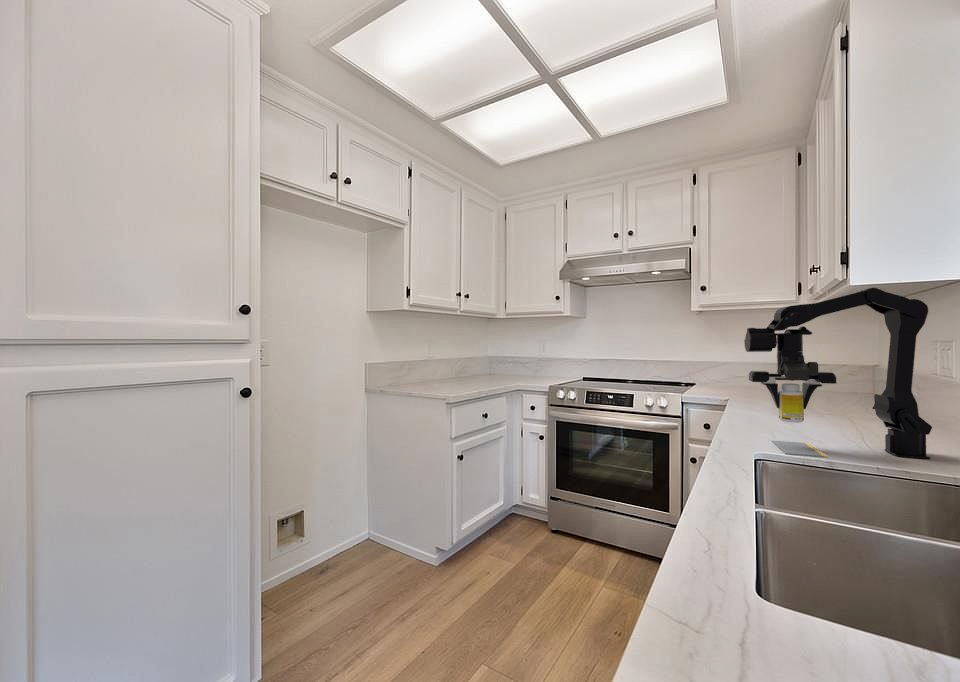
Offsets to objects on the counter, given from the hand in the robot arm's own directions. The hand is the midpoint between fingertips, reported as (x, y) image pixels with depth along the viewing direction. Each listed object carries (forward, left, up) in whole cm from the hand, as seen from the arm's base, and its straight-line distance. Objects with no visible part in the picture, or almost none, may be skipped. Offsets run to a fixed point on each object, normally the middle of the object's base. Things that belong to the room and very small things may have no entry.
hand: (790, 408), depth 115 cm
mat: (-1, +1, -11) cm, 11 cm away
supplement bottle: (0, 0, -4) cm, 4 cm away
